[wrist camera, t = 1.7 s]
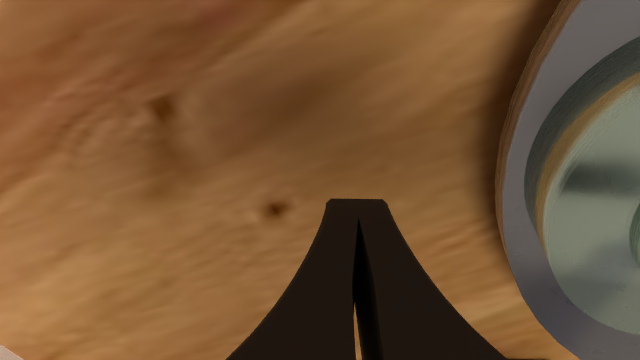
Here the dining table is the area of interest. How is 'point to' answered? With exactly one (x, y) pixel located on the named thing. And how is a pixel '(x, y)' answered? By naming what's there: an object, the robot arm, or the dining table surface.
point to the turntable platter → (514, 147)
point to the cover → (592, 190)
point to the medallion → (8, 354)
